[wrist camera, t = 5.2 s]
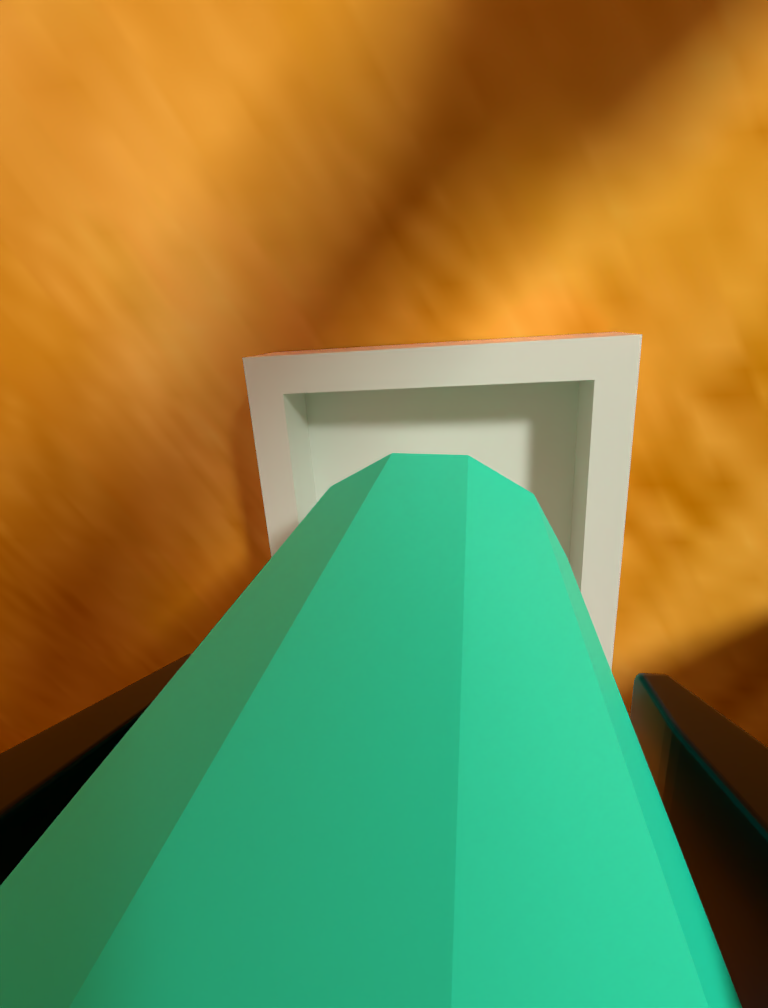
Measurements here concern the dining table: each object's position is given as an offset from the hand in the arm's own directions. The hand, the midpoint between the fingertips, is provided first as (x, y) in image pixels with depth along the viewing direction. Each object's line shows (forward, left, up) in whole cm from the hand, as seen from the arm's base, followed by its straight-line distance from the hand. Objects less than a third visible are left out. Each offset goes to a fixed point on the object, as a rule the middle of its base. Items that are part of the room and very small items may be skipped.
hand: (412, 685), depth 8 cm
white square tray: (0, 0, -9) cm, 9 cm away
